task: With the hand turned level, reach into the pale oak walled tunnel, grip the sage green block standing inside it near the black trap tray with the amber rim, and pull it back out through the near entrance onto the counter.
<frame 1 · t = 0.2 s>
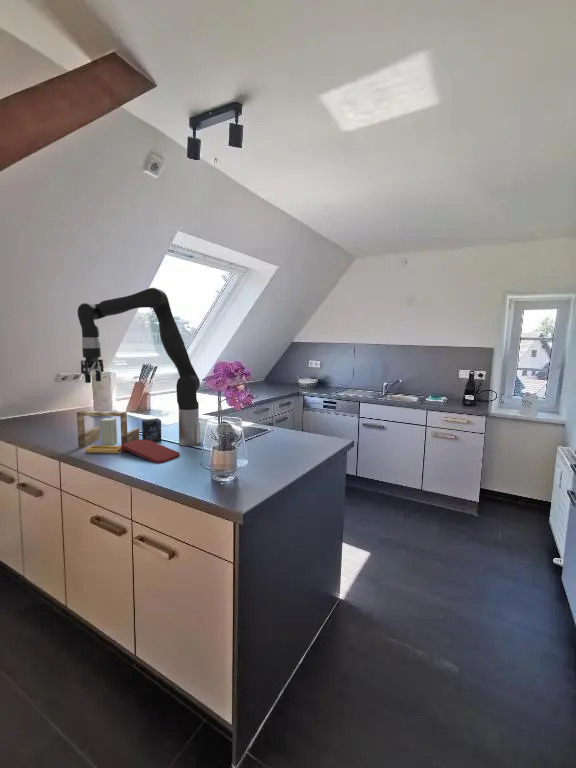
hand: (93, 382, 174), 29 cm above the worktop, fingers open, 8 cm apart
dark red bent panel: (149, 456, 160), on the worktop
block: (109, 444, 174), on the worktop
tunnel: (110, 443, 175), on the worktop
trap tray: (104, 451, 163), on the worktop
box: (152, 441, 181), on the worktop
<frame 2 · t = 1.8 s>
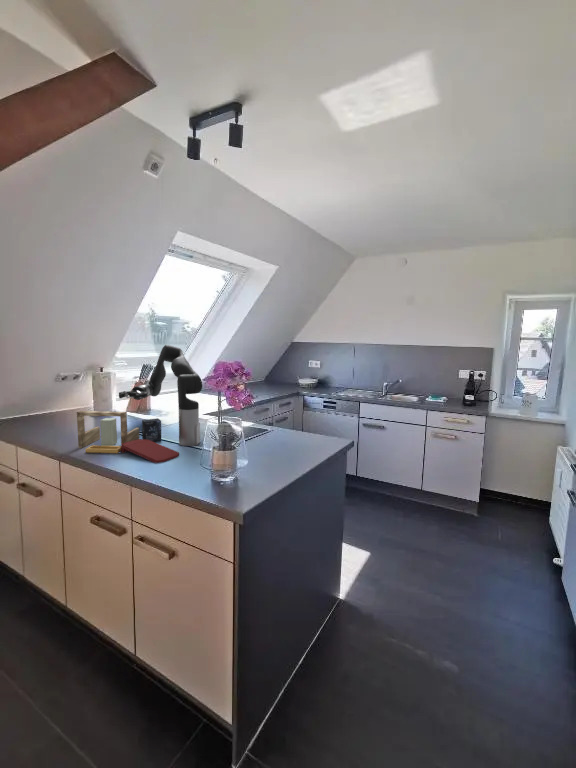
hand: (128, 396, 193), 19 cm above the worktop, fingers open, 8 cm apart
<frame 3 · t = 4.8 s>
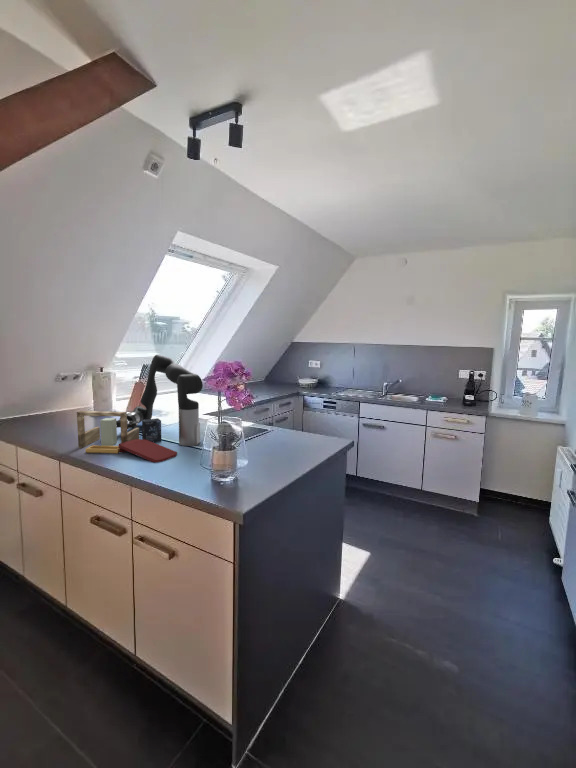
hand: (115, 427, 179), 6 cm above the worktop, fingers open, 8 cm apart
dark red bent panel: (146, 455, 161), on the worktop, touching trap tray
everything else where it was.
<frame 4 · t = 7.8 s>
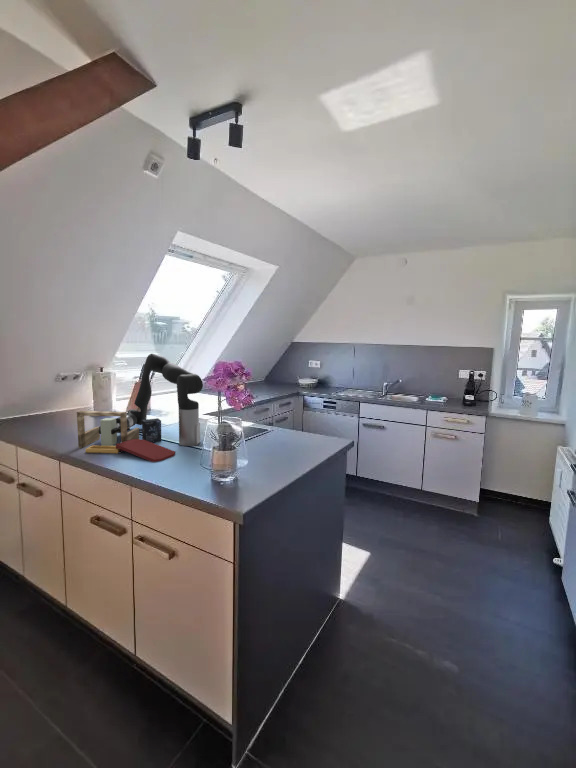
hand: (105, 432, 171), 7 cm above the worktop, fingers closed on block, 5 cm apart
dark red bent panel: (144, 455, 161), on the worktop
block: (109, 444, 174), on the worktop, touching gripper
everything else where it was.
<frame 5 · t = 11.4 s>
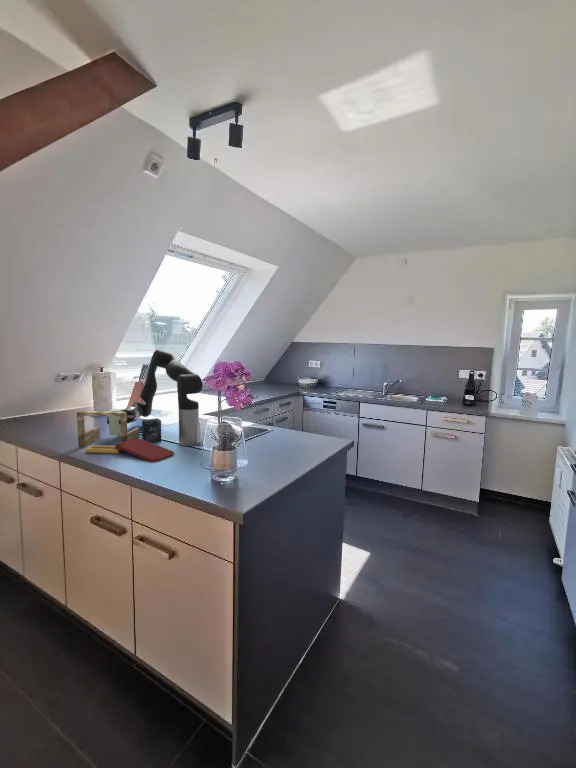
hand: (113, 422, 178), 9 cm above the worktop, fingers closed on block, 5 cm apart
block: (116, 434, 182), point 3 cm above the worktop, touching gripper
when the fingers open (7 cm above the worktop, at t = 14.8 s): block stays where it is, on the worktop.
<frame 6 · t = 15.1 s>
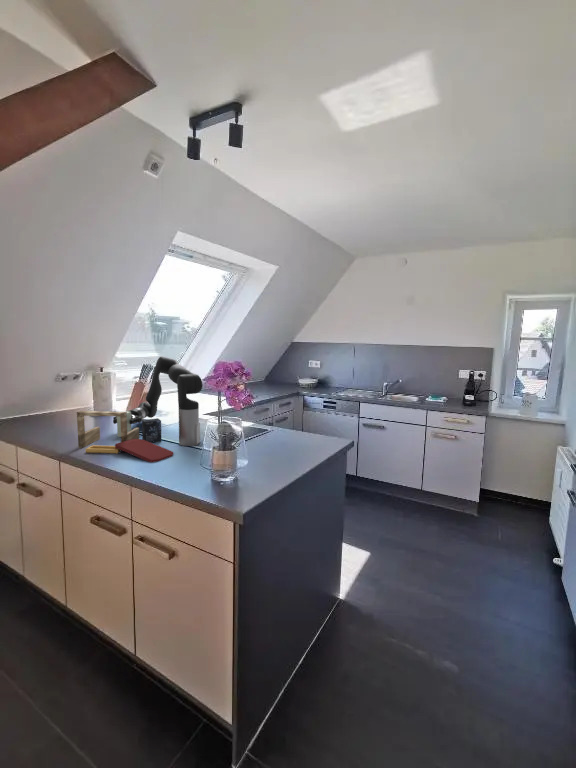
hand: (122, 422, 187), 8 cm above the worktop, fingers open, 7 cm apart
block: (124, 435, 190), on the worktop
everything else where it was.
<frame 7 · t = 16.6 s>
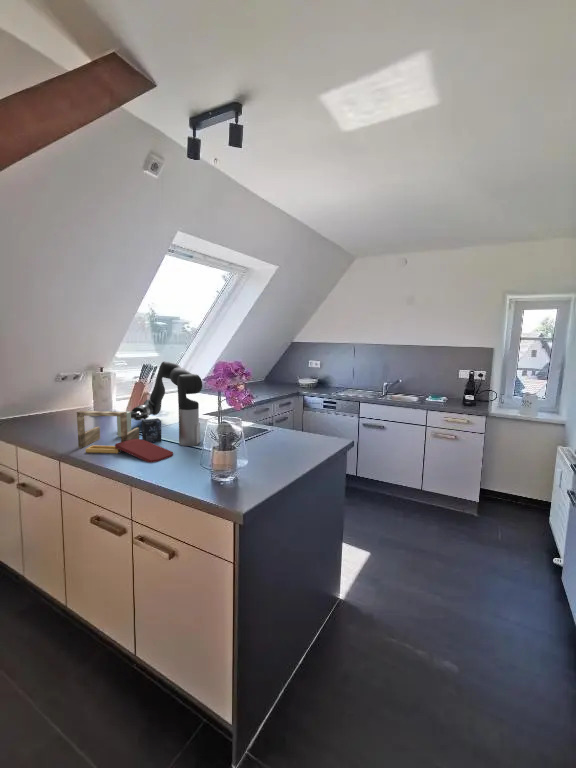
hand: (128, 418, 194), 8 cm above the worktop, fingers open, 8 cm apart
nothing on the worktop moved.
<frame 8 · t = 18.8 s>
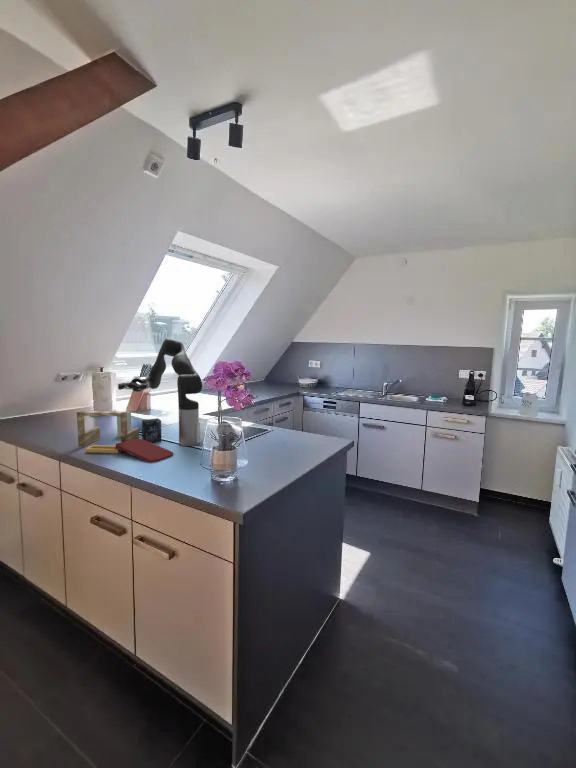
hand: (127, 387, 192), 24 cm above the worktop, fingers open, 8 cm apart
nothing on the worktop moved.
at the end: block inside the target area (0.5 cm from its centre), on the worktop; block tilted 0°; the gripper is holding nothing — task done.
